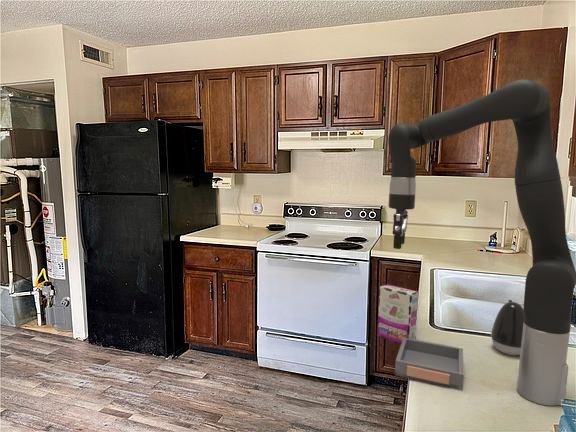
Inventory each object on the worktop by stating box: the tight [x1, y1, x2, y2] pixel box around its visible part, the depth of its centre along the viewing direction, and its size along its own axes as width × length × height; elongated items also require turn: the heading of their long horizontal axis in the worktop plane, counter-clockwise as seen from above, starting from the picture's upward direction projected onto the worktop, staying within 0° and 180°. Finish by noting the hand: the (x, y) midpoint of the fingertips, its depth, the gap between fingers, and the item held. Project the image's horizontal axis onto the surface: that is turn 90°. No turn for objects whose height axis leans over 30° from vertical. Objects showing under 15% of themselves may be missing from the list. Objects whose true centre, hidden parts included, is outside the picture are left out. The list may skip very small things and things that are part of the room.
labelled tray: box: [394, 338, 464, 391], centre depth 107 cm, size 16×17×4 cm
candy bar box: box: [376, 283, 420, 345], centre depth 125 cm, size 11×5×16 cm, turn 45°
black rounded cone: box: [490, 299, 524, 356], centre depth 119 cm, size 10×10×15 cm
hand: (399, 246), depth 121 cm, fingers open, 8 cm apart
